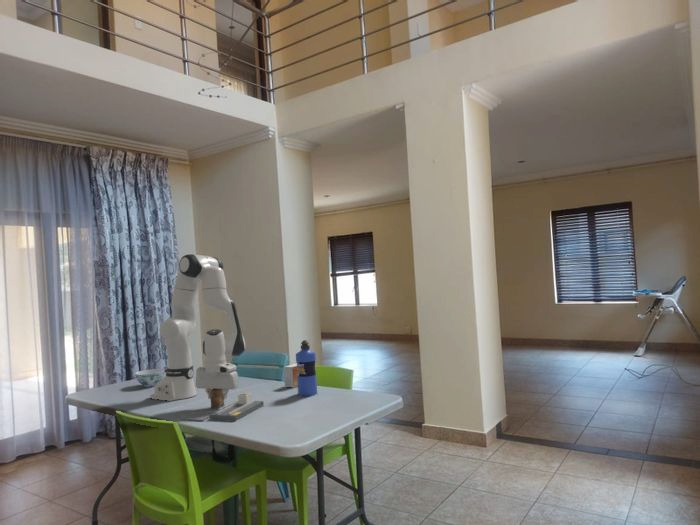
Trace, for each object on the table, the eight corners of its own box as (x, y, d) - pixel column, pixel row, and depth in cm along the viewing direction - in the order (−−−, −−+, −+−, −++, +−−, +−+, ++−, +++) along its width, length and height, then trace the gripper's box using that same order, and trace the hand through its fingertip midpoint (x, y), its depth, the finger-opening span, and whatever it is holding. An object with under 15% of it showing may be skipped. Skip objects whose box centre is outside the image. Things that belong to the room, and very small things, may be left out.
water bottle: (308, 390, 237) (306, 338, 237) (321, 393, 230) (318, 339, 231) (293, 394, 230) (290, 341, 231) (306, 397, 224) (303, 342, 224)
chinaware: (170, 384, 269) (169, 370, 269) (143, 390, 258) (143, 375, 258) (156, 381, 279) (155, 367, 279) (130, 387, 267) (129, 373, 268)
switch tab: (238, 404, 209) (238, 394, 209) (243, 402, 213) (243, 391, 213) (246, 404, 208) (246, 394, 208) (251, 402, 212) (251, 392, 212)
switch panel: (209, 419, 196) (209, 412, 196) (239, 404, 217) (239, 398, 217) (235, 421, 192) (235, 413, 193) (263, 405, 213) (263, 399, 213)
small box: (293, 388, 243) (292, 367, 243) (284, 387, 246) (283, 366, 246) (303, 384, 250) (302, 364, 250) (294, 384, 253) (293, 363, 253)
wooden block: (211, 408, 214) (210, 389, 214) (216, 405, 218) (215, 387, 218) (218, 408, 213) (218, 390, 213) (224, 406, 216) (223, 387, 217)
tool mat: (179, 420, 198) (179, 418, 198) (197, 412, 209) (196, 410, 209) (202, 421, 195) (202, 419, 195) (219, 413, 205) (218, 411, 205)
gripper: (191, 368, 216) (193, 399, 216) (231, 368, 209) (233, 401, 209) (200, 365, 222) (202, 396, 222) (239, 365, 215) (241, 397, 215)
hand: (217, 398), depth 215 cm, fingers open, 5 cm apart
